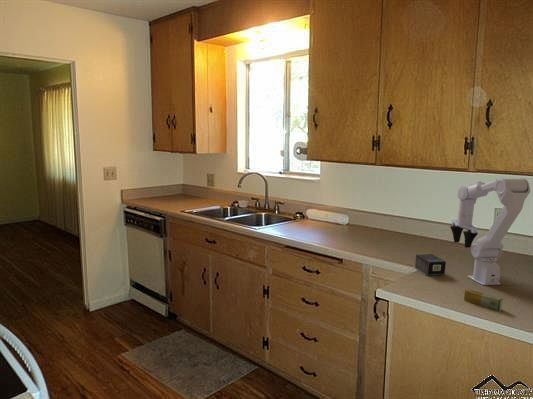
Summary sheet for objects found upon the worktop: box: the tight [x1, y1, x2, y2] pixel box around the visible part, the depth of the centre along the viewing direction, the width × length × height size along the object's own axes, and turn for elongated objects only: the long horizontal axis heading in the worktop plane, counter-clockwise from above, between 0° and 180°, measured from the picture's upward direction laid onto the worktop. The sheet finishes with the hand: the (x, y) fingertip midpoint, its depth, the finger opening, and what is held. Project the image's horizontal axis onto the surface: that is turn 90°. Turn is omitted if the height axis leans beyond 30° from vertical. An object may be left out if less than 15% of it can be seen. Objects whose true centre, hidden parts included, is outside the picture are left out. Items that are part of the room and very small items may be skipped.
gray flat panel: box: [414, 266, 445, 276], centre depth 177 cm, size 9×8×1 cm
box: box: [414, 253, 447, 276], centre depth 177 cm, size 8×6×11 cm
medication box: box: [463, 288, 504, 312], centre depth 145 cm, size 12×3×4 cm, turn 41°
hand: (461, 244), depth 182 cm, fingers open, 7 cm apart
